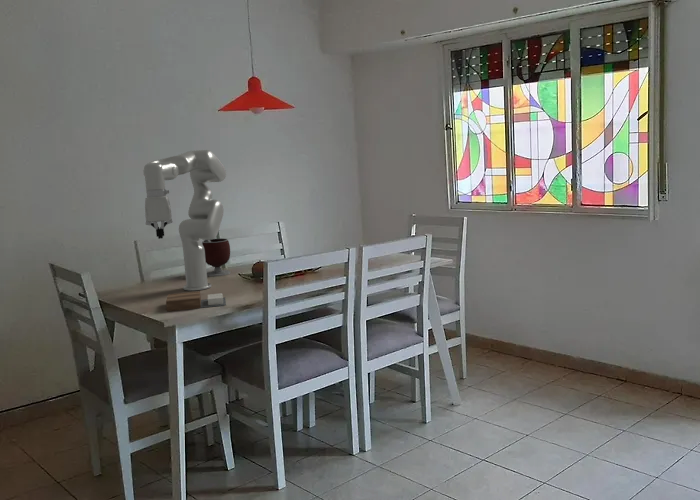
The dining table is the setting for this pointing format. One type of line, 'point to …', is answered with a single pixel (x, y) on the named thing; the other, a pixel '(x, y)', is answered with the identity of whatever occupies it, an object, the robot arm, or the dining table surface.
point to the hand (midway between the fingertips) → (160, 238)
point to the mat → (205, 304)
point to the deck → (183, 301)
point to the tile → (215, 299)
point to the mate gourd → (217, 255)
